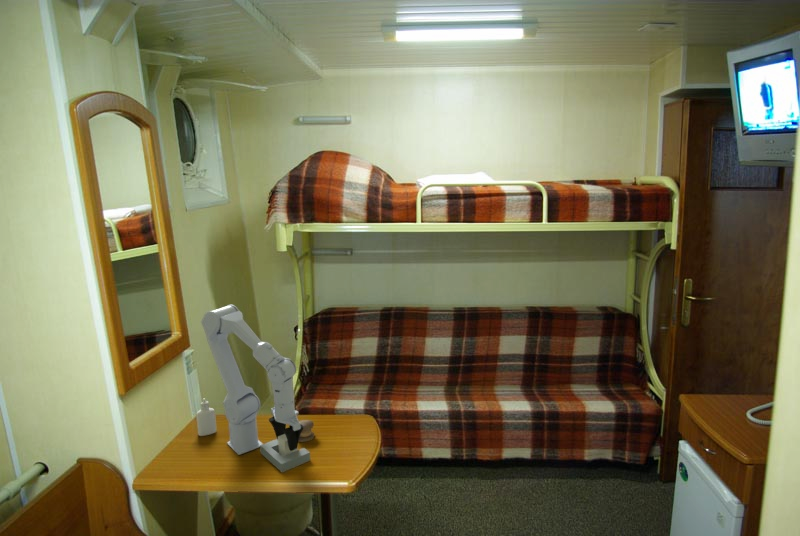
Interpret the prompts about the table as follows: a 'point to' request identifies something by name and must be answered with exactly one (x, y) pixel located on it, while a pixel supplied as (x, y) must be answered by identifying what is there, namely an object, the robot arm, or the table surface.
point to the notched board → (286, 461)
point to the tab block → (284, 445)
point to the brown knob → (306, 431)
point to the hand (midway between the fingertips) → (287, 444)
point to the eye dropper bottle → (206, 419)
